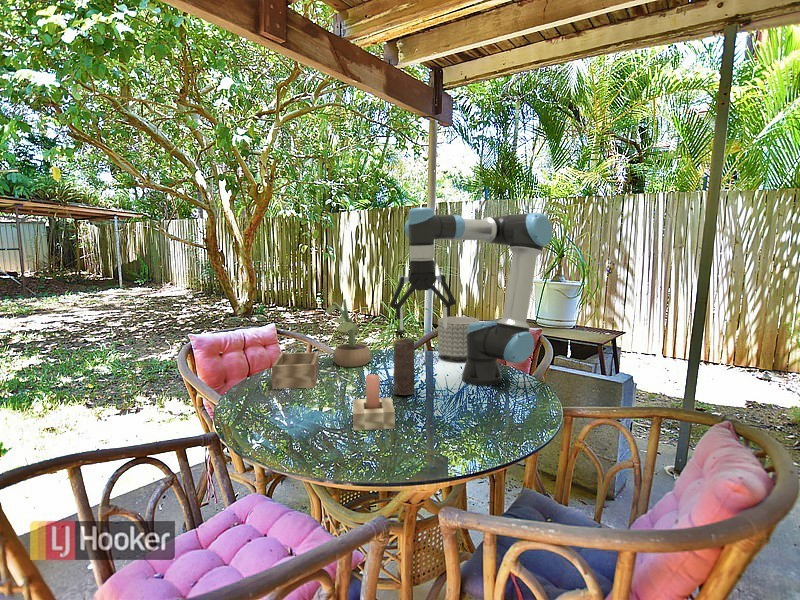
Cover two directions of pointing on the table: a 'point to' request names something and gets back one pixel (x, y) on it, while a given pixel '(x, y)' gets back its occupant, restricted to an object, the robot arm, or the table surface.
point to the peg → (372, 392)
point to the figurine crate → (295, 370)
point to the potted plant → (352, 351)
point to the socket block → (373, 415)
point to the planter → (454, 337)
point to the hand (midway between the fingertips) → (423, 328)
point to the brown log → (404, 366)
